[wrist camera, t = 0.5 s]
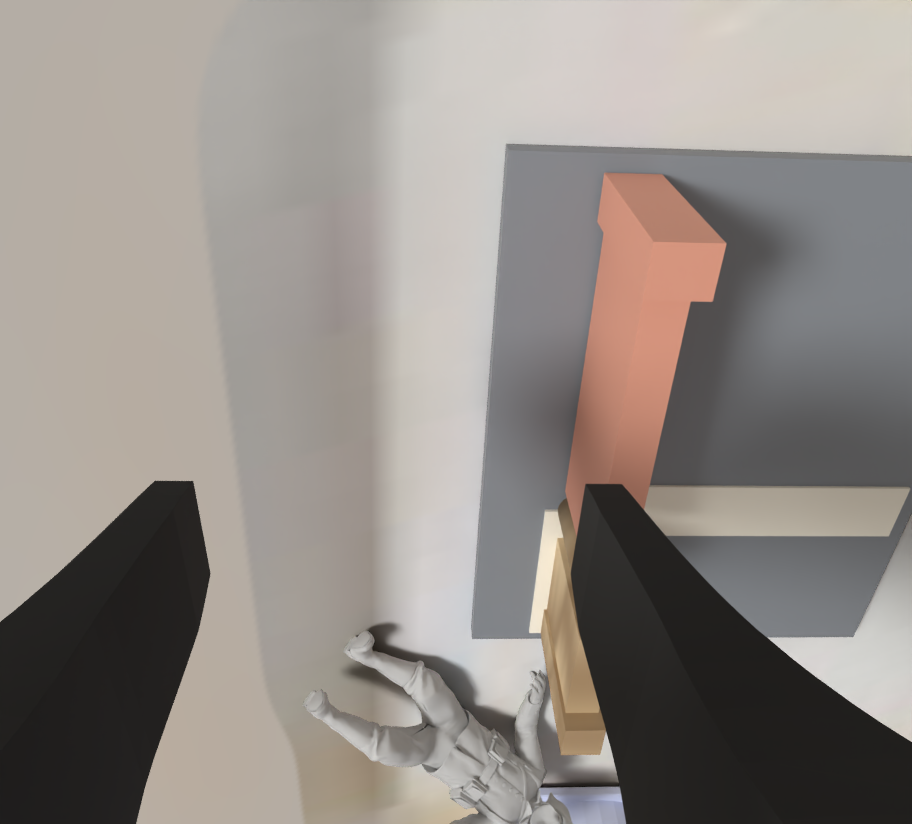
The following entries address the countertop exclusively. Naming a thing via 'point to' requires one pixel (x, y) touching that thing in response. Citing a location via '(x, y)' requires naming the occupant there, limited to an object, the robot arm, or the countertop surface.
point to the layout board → (716, 381)
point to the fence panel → (637, 329)
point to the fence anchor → (569, 656)
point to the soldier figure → (453, 743)
